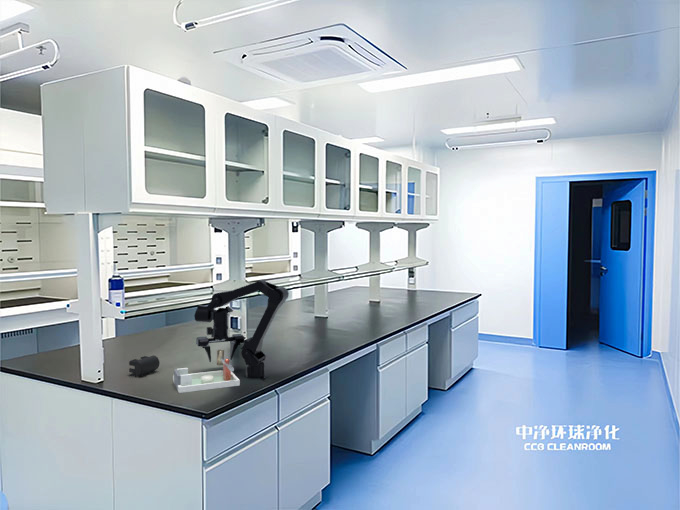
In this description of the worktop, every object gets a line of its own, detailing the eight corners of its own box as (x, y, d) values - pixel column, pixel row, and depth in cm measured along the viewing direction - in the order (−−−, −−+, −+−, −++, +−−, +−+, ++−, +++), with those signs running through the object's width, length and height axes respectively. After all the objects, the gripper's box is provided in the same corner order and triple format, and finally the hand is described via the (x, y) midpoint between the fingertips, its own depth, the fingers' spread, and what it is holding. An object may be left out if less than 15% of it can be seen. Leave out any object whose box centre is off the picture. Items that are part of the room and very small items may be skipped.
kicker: (223, 370, 202) (223, 348, 201) (236, 385, 182) (236, 361, 182) (215, 371, 200) (216, 349, 200) (228, 386, 181) (228, 362, 181)
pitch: (229, 376, 198) (229, 361, 198) (239, 388, 184) (239, 371, 183) (173, 383, 188) (172, 367, 188) (178, 395, 174) (178, 378, 174)
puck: (211, 380, 189) (211, 374, 189) (214, 383, 185) (214, 377, 185) (200, 382, 187) (200, 375, 187) (202, 385, 183) (202, 378, 183)
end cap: (141, 378, 195) (141, 361, 194) (128, 376, 197) (128, 359, 197) (159, 372, 204) (159, 356, 204) (146, 369, 207) (146, 354, 206)
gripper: (238, 318, 210) (238, 354, 211) (193, 321, 202) (193, 358, 203) (245, 322, 200) (244, 360, 201) (198, 325, 192) (198, 365, 193)
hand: (220, 360), depth 200 cm, fingers open, 8 cm apart
